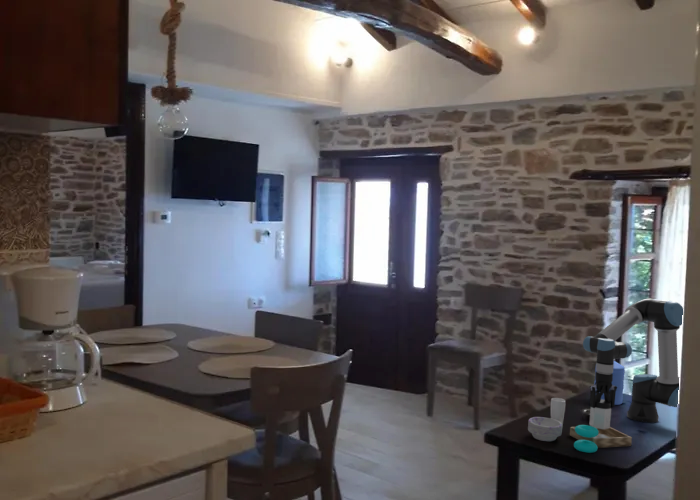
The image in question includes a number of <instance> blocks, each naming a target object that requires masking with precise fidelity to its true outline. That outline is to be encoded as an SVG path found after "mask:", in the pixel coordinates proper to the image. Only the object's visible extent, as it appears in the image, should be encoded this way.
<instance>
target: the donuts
mask: <svg viewBox="0 0 700 500" xmlns="http://www.w3.org/2000/svg"><path fill="white" fill-rule="evenodd" d="M574 427H575V432H576V433H577V434H578V435H580V436H583V437H589V438H591V437H596V436H597V435H598V433H599V431H598V429H597V428H595V427H593V426H591V425H588V424H578V425H576V426H574ZM573 447H574V449H576V451H579V452H583V453H589V454H591V453H596V452H597V451H598V449H599V448H598V447H597V445H596V444H595V443H594V442H592V441H589V440H578V439H576V441H574V442H573Z"/></svg>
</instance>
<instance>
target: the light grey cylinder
mask: <svg viewBox="0 0 700 500" xmlns="http://www.w3.org/2000/svg"><path fill="white" fill-rule="evenodd" d="M565 413H566V399H564V398H561V397H552V398H551V399H550V418H551V419H555V420H557V421H559V422H561V423H562V427H564V426H563V424H564V419H565V418H564V417H565Z"/></svg>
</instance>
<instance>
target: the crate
mask: <svg viewBox="0 0 700 500" xmlns="http://www.w3.org/2000/svg"><path fill="white" fill-rule="evenodd" d="M575 427H576V426H570V427H569V436H571V437H572V438H574V439H576V440H589V441H592V442H594V443H595V444H596V445H597V447H598V449H603V448H604V449H605V448H619V447H621V448H622V447H631V446H632V441H633V440H632V439H633V437H632V436H630V435H629V434H626V433H623V432H621V430H617V429H615V428H614V427H611V426H610V428H609V429H598V428H597V429H598V431H599V433H598V435H597V436H596V437H591V438H589V437H583V436H580V435H578V434H577V433H576V432H575Z"/></svg>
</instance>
